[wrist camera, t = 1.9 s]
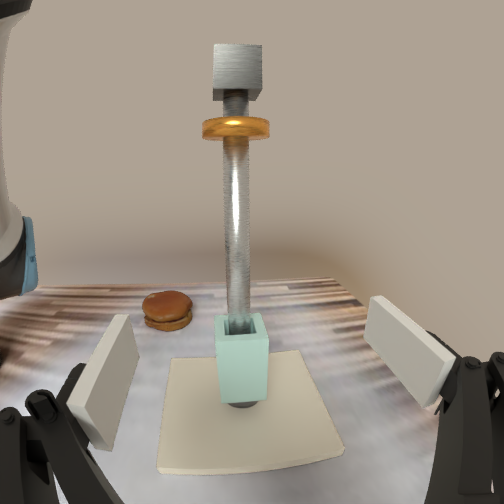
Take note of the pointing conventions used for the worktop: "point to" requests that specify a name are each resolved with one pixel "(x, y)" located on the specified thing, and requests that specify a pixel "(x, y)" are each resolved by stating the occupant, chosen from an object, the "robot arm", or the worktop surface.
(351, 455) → the worktop surface
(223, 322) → the teal sleeve
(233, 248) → the metal rod
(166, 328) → the burger
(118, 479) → the worktop surface
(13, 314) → the worktop surface
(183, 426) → the cream stand base
